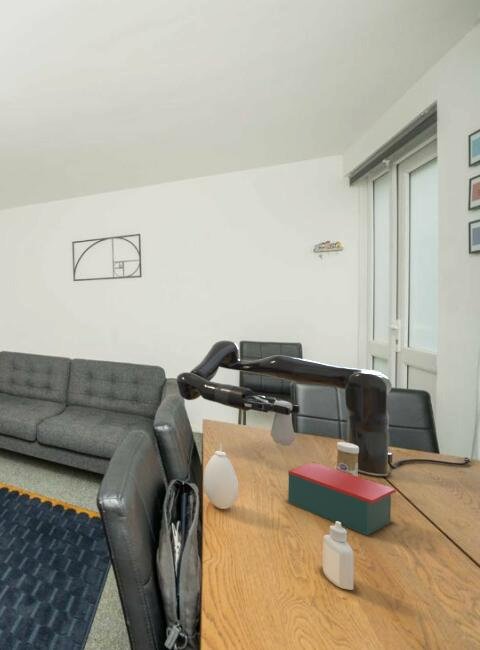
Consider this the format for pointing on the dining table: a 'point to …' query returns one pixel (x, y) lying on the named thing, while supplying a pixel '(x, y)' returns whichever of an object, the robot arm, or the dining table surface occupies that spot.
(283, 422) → the salt shaker
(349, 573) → the eye dropper bottle
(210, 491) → the sauce bottle
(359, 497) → the lid
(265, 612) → the dining table surface
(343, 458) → the sprinkles bottle
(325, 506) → the lunchbox
